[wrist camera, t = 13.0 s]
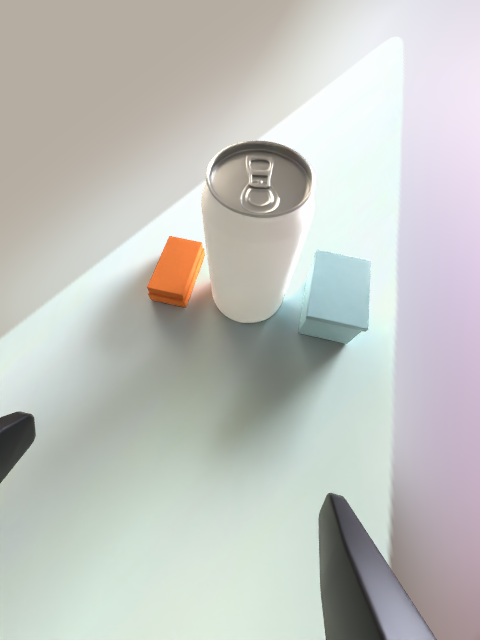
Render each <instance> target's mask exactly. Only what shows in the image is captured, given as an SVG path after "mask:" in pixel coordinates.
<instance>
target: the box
mask: <svg viewBox="0 0 480 640" xmlns="http://www.w3.org/2000/svg"><path fill="white" fill-rule="evenodd" d="M370 267H371V261H370V260H365V259H360V258H355V257H350V256H345V255H340V254H336V253H331V252H326V251H321V250H316V252H315V256H314V262H313V264H312V266H311V268H310V270H309V273H308V275H307V279H306V285H305V292H304V298H303V305H302V311H301V317H300V324H299V330H298V333H300V334H305V335H309V336H314V337H318V338H323V339H327V340H331V341H336V342H340V343H345V344H347V343H348V342H350V341H351V340H352V339H353V338H354V337H355V336H356V335H358V334H359V333H360V332H361V331H364V332H365V331H367V330H368V320H369V293H370Z"/></svg>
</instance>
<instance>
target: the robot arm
mask: <svg viewBox="0 0 480 640" xmlns="http://www.w3.org/2000/svg"><path fill="white" fill-rule="evenodd" d="M35 436H36V433H35V422H34V417H33V415H32V414H28V413H25V412H15V413H12V414H9V415H6V416H3V417H1V418H0V483H1V482H2V481H3V479H4V478H5V477H6V476H7V474H8V473H9V472H10V471H11V469H12V468H13V467H14V466H15V464H16V463H17V462H18V461H19V459H20V458H21V457H22V456H23V454H24V453H25V452H26V451H27V449H28V448H29V447H30V446H31V444H32V443H33V441H34V439H35ZM319 557H320V589H321V599H322V608H323V617H324V626H325V635H326V640H437V639H436V638H435V636H434V635H433V633H432V632H431V630H430V629H429V627H428V625H427V624H426V622H425V621H424V619H423V618H422V617H421V615H420V613H419V612H418V610H417V608H416V607H415V605H414V604H413V602H412V601H411V599H410V598H409V596H408V595H407V593H406V592H405V590H404V589H403V587H402V585H401V584H400V582H399V581H398V579H397V578H396V576H395V575H394V573H393V572H392V570H391V569H390V567H389V565H388V564H387V562H386V561H385V559H384V558H383V556H382V555H381V553H380V552H379V550H378V549H377V547H376V546H375V544H374V542H373V541H372V539H371V538H370V536H369V535H368V533H367V532H366V530H365V529H364V527H363V526H362V524H361V522H360V521H359V519H358V518H357V516H356V515H355V513H354V512H353V510H352V509H351V507H350V506H349V504H348V502H347V501H346V499H345V498H344V497H343V496H340V495H336V494H333V493H328V494H327V496H326V498H325V501H324V503H323V505H322V508H321V510H320V513H319Z"/></svg>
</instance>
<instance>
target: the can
mask: <svg viewBox="0 0 480 640" xmlns="http://www.w3.org/2000/svg"><path fill="white" fill-rule="evenodd" d="M314 186H315V177H314V173H313V170H312V168H311V166H310V165H309V163H308V162H307V161H306V160H305V159H304V158H303V157H302V156H301V155H300V154H298V153H297V152H296V151H294V150H292V149H290V148H288V147H286V146H283V145H280V144H277V143H273V142H267V141H248V142H242V143H237V144H234V145H231V146H229V147H227V148H225V149H223V150H222V151H221V152H219V153H218V154H217V155H216V156H215V157H214V158H213V159H212V160H211V162H210V163H209V165H208V168H207V172H206V185H205V187H204V190H203V193H202V216H203V225H204V233H205V241H206V249H207V257H208V265H209V273H210V280H211V288H212V294H213V298H214V301H215V304H216V306H217V307H218V309H219V310H220V311H221V312H222V313H223V314H224V315H226V316H227V317H229V318H230V319H232V320H234V321H237V322H241V323H254V322H260V321H263V320H265V319H267V318H269V317H271V316H272V315H273V314H274V313H275V312H276V311H277V310H278V309H279V307H280V305H281V303H282V301H283V299H284V296H285V293H286V291H287V288H288V285H289V282H290V280H291V277H292V274H293V271H294V269H295V266H296V263H297V260H298V257H299V255H300V252H301V249H302V246H303V243H304V241H305V238H306V235H307V232H308V229H309V226H310V223H311V220H312V216H313V212H314V198H313V190H314Z"/></svg>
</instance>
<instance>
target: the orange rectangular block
mask: <svg viewBox="0 0 480 640" xmlns="http://www.w3.org/2000/svg"><path fill="white" fill-rule="evenodd" d="M204 256H205V253H204V249H203V247H202V243H201V242H196V241H191V240H187V239H182V238H177V237H172V236H169V239H168V241H167V243H166V245H165V248H164V250H163V252H162V254H161V257H160V259H159V261H158V264H157V266H156V268H155V270H154V273H153V275H152V277H151V279H150V282H149V284H148V286H147V288H148V290H149V294H148V295H149V297H150V299H151V300H154V301H158V302H163V303H167V304H172V305H176V306H181V307H185V308H186V307H187V304H188V301H189V298H190V295H191V293H192V290H193V287H194V284H195V281H196V279H197V276H198V273H199V270H200V267H201V265H202V262H203V259H204Z"/></svg>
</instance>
